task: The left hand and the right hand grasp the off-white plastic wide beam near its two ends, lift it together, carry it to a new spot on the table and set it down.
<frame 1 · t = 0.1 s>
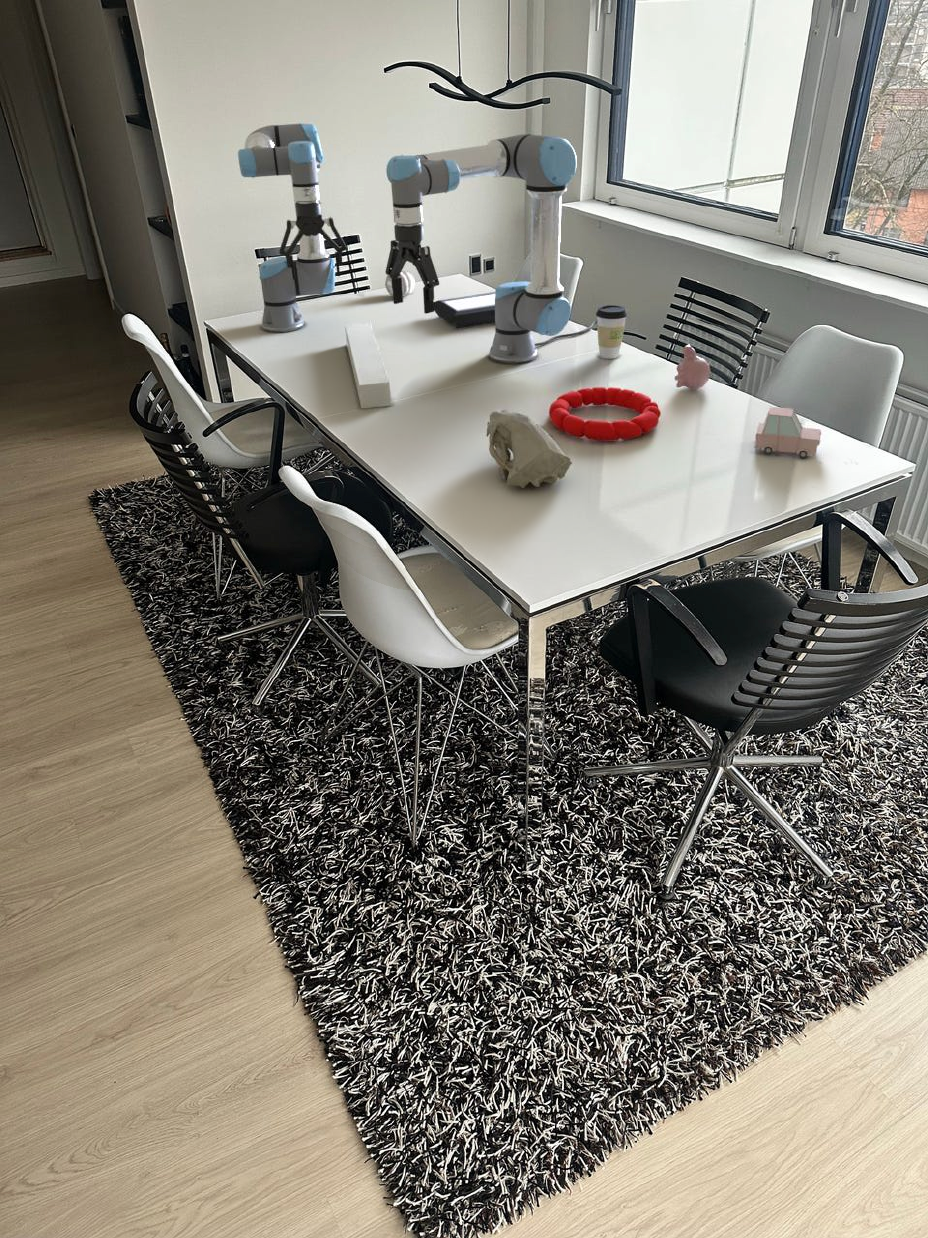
left hand: (316, 276, 273), 28 cm above the table, tool pointing down, fingers open, 13 cm apart
right hand: (413, 307, 242), 28 cm above the table, tool pointing down, fingers open, 13 cm apart
wide beam: (367, 373, 282), on the table
seashell: (401, 296, 356), on the table
decorative ring: (603, 422, 244), on the table
animal skull: (520, 470, 220), on the table
coffee cup: (608, 356, 289), on the table
electronic device: (483, 318, 328), on the table
toy car: (785, 451, 225), on the table
figurine: (690, 388, 263), on the table
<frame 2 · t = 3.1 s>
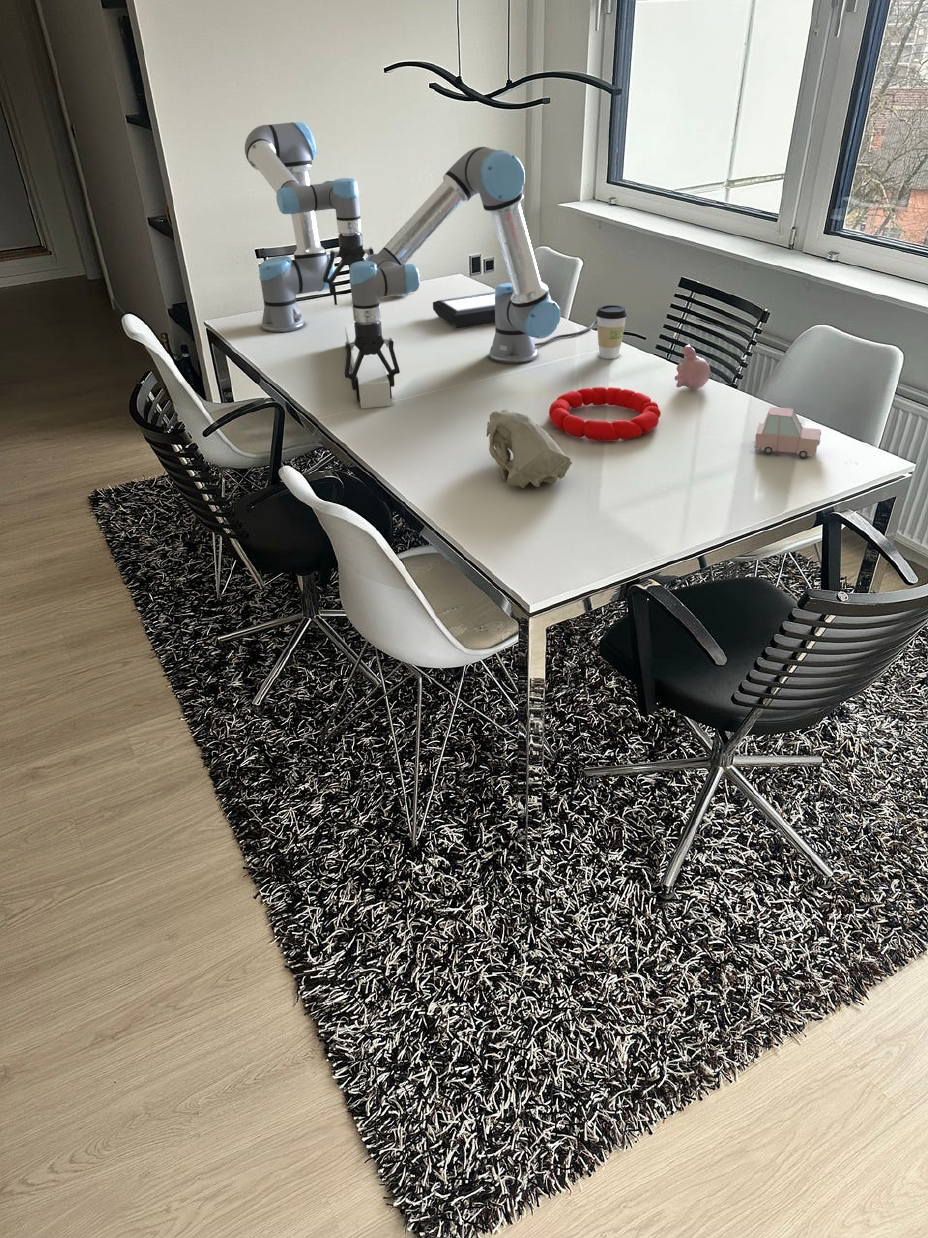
left hand: (356, 302, 293), 16 cm above the table, tool pointing down, fingers open, 13 cm apart
right hand: (374, 398, 262), 0 cm above the table, tool pointing down, fingers closed on wide beam, 9 cm apart
wide beam: (367, 373, 282), on the table, touching right hand
everything else where it was.
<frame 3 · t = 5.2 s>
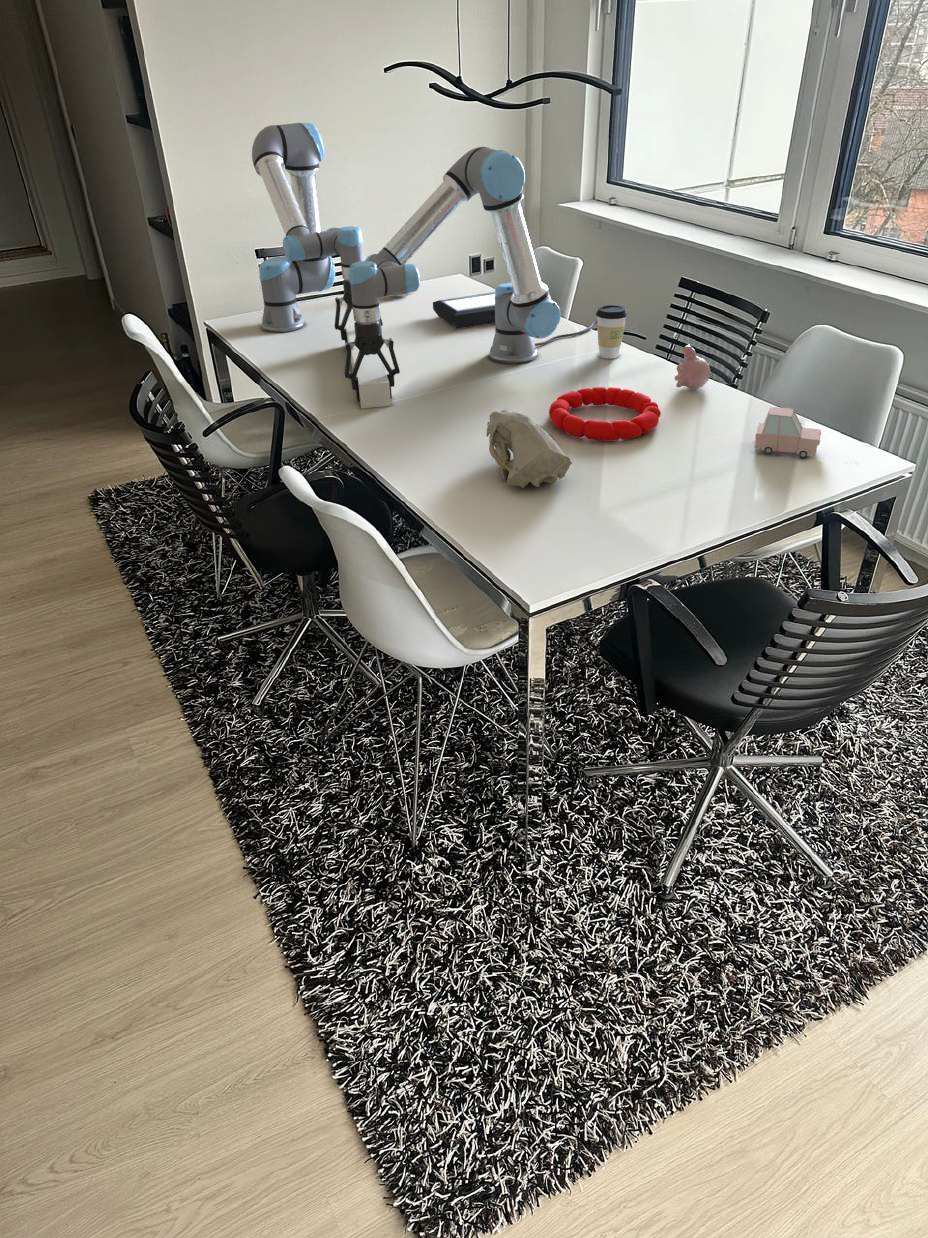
left hand: (360, 348, 302), 0 cm above the table, tool pointing down, fingers closed on wide beam, 9 cm apart
right hand: (374, 398, 262), 0 cm above the table, tool pointing down, fingers closed on wide beam, 9 cm apart
wide beam: (367, 373, 282), on the table, touching left hand, right hand
everything else where it was.
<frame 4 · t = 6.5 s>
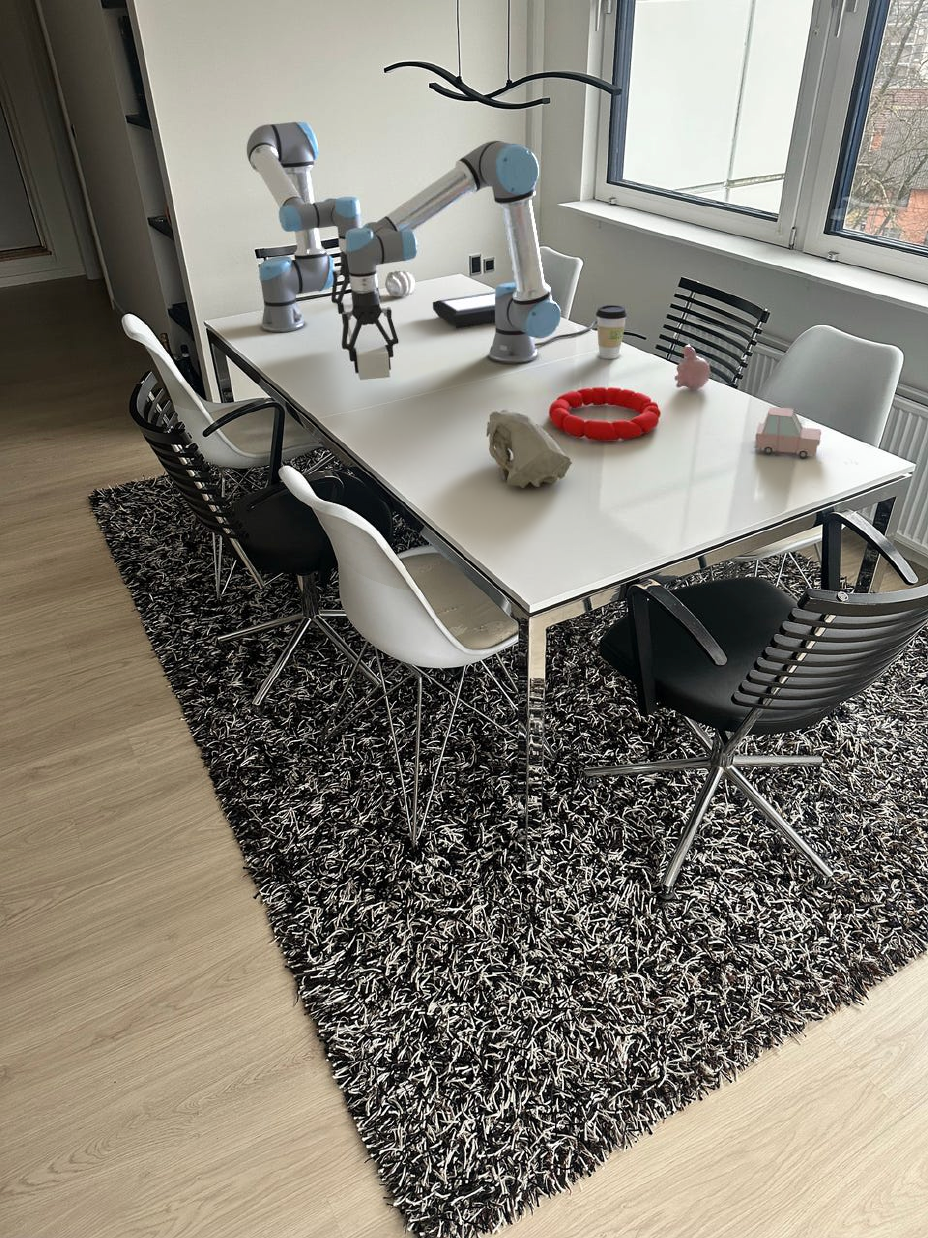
left hand: (358, 322, 297), 9 cm above the table, tool pointing down, fingers closed on wide beam, 9 cm apart
right hand: (372, 369, 258), 9 cm above the table, tool pointing down, fingers closed on wide beam, 9 cm apart
wide beam: (365, 346, 278), point 8 cm above the table, touching left hand, right hand
everything else where it was.
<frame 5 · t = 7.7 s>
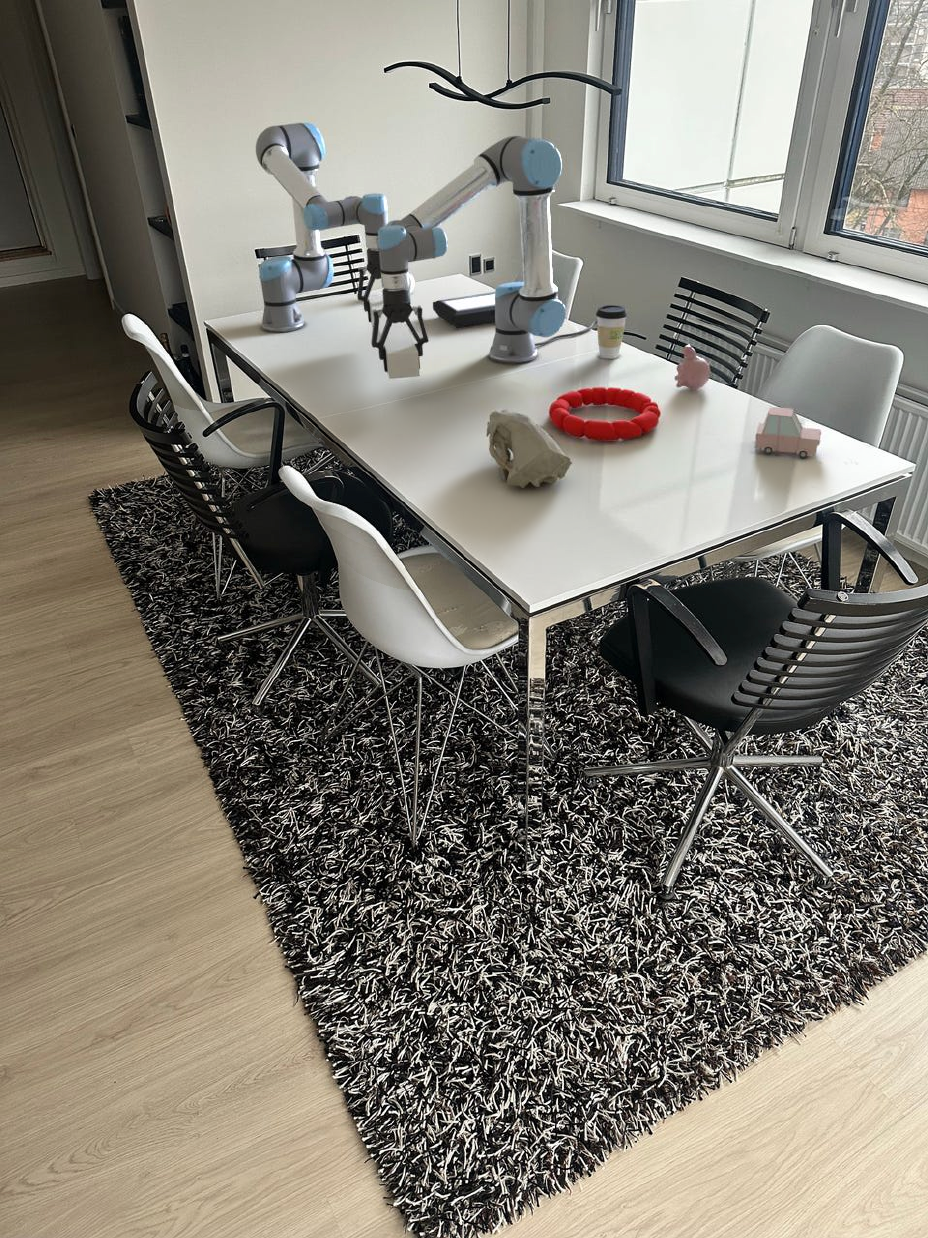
left hand: (383, 319, 295), 10 cm above the table, tool pointing down, fingers closed on wide beam, 9 cm apart
right hand: (402, 368, 256), 10 cm above the table, tool pointing down, fingers closed on wide beam, 9 cm apart
wide beam: (392, 344, 276), point 9 cm above the table, touching left hand, right hand
everything else where it was.
when the left hand's fingers open (2 cm above the table, at t = 10.2 s): wide beam drops 1 cm, on the table.
when the right hand's fingers open (2 cm above the table, at t = 10.2 s): wide beam drops 1 cm, on the table.
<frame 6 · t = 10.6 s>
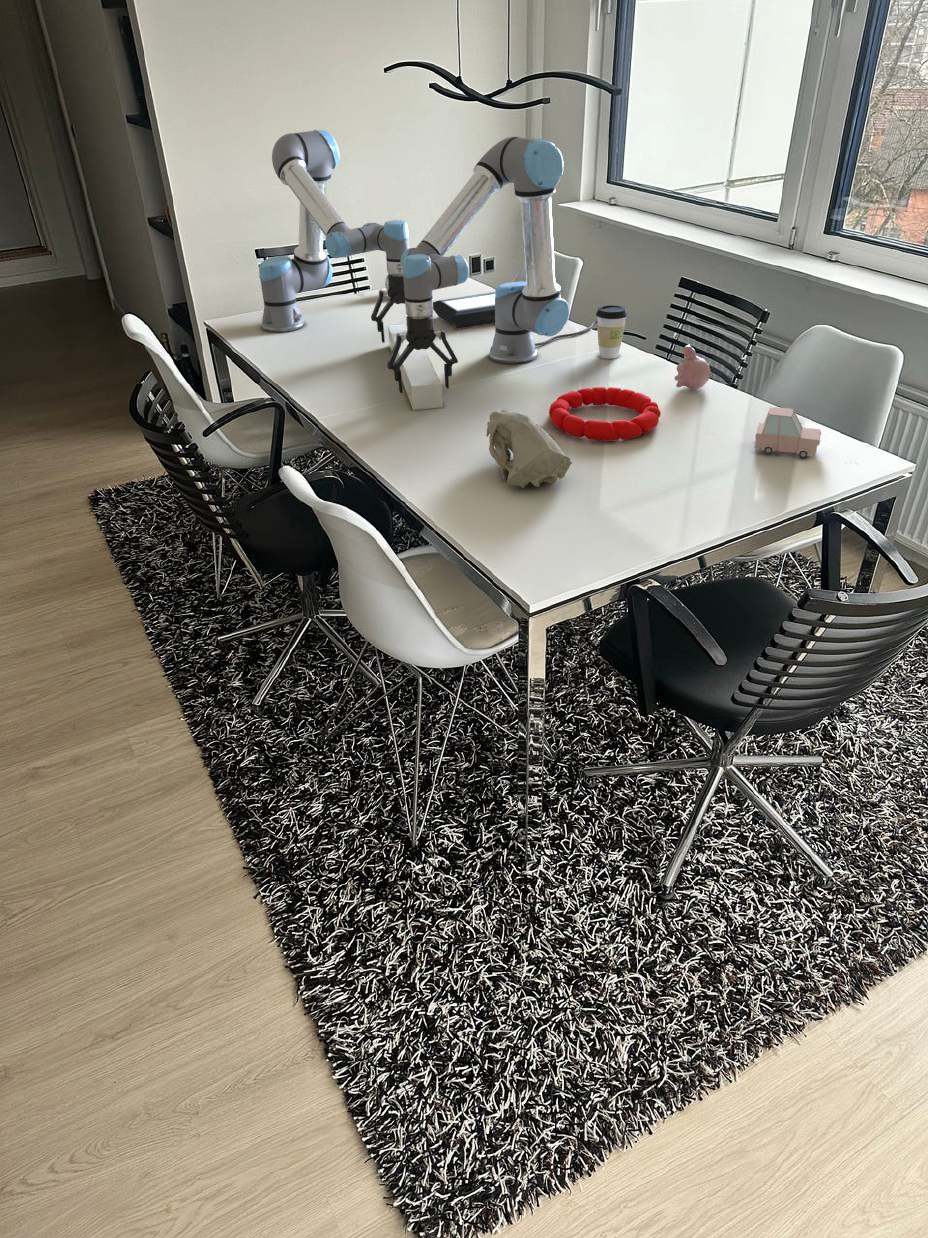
left hand: (403, 339, 298), 4 cm above the table, tool pointing down, fingers open, 13 cm apart
right hand: (424, 389, 258), 4 cm above the table, tool pointing down, fingers open, 13 cm apart
wide beam: (413, 374, 280), on the table
everything else where it was.
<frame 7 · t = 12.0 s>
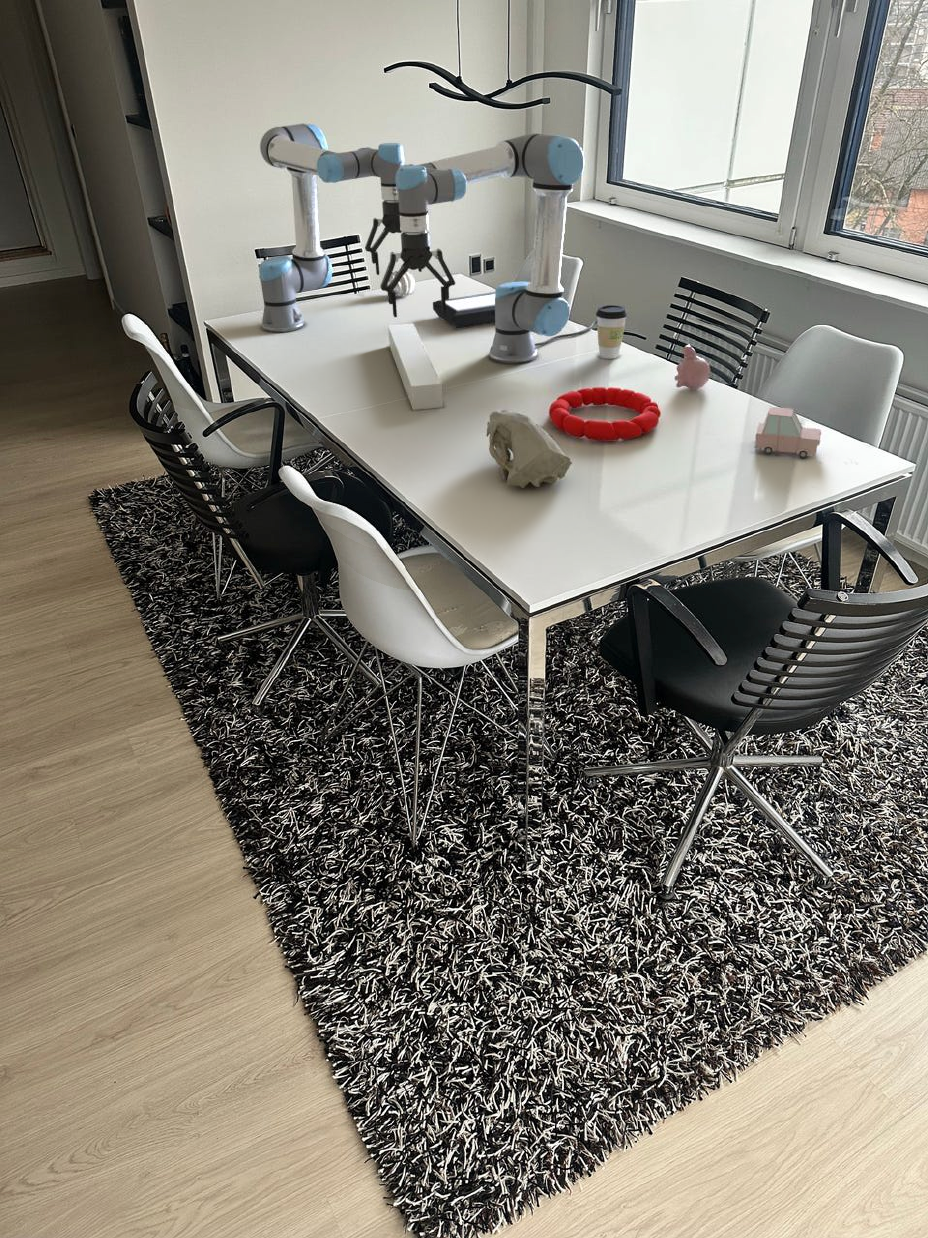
left hand: (399, 272, 285), 25 cm above the table, tool pointing down, fingers open, 13 cm apart
right hand: (419, 313, 246), 25 cm above the table, tool pointing down, fingers open, 13 cm apart
nothing on the table moved.
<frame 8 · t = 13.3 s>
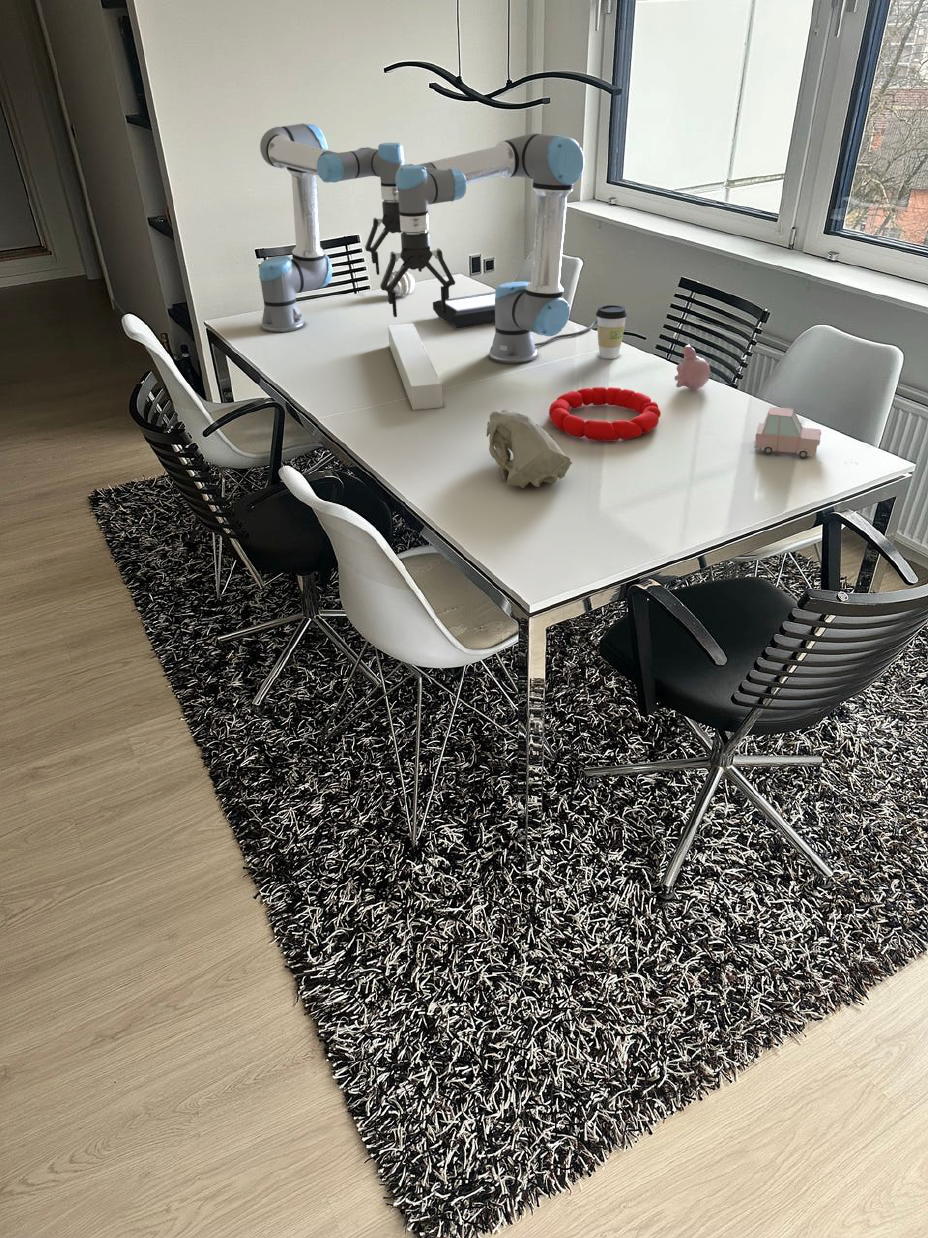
left hand: (399, 272, 285), 25 cm above the table, tool pointing down, fingers open, 13 cm apart
right hand: (419, 313, 246), 25 cm above the table, tool pointing down, fingers open, 13 cm apart
nothing on the table moved.
at the end: wide beam inside the target area (0.2 cm from its centre), on the table; wide beam tilted 0°; wide beam never tilted more than 1° during the clip; both hands held the wide beam at the same time; the left hand is holding nothing; the right hand is holding nothing; wide beam at rest at the end (0.0 cm/s) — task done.
